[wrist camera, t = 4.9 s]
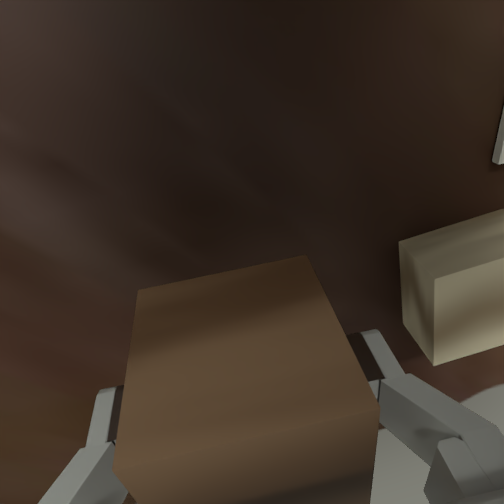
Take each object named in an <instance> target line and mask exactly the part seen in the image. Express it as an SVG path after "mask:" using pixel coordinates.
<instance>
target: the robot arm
mask: <svg viewBox="0 0 504 504" xmlns="http://www.w3.org/2000/svg"><path fill="white" fill-rule="evenodd" d="M346 337H347V339H348V342H349V344H350V346H351V348H352V350H353V352H354V354H355V356H356V358H357V360H358V362H359V364H360V366H361V368H362V370H363V372H364V375H365V377H366V379H367V381H368V383H369V385H370V387H371V389H372V391H373V393H374V395H375V397H376V399H377V401H378V403H379V405H380V408H381V410H380V419H379V422H380V423H381V424H382V425H383V426H384V427H385V428H387V429H388V430H389V431H390V432H391V433H393V434H394V435H395V436H396V437H397V438H398V439H399V440H401V441H402V442H403V443H404V444H405V445H406V446H407V447H409V448H410V449H411V450H412V451H413V452H414V453H415V454H417V455H418V456H419V457H420V458H421V459H423V460H424V461H425V462H426V463H427V464H428V465H429V466H430V467H431V468H430V471H429V475H428V478H427V481H426V484H425V487H424V493H425V495H426V497H427V499H428V501H429V503H430V504H504V436H503V434H502V433H501V432H500V430H499V429H498V427H497V426H496V425H494V424H492V423H491V422H489V421H488V420H486V419H484V418H482V417H481V416H479V415H478V414H476V413H474V412H473V411H471V410H470V409H468V408H466V407H464V406H463V405H461V404H460V403H458V402H456V401H455V400H453V399H452V398H450V397H448V396H447V395H445V394H443V393H442V392H440V391H438V390H437V389H435V388H434V387H432V386H430V385H429V384H427V383H425V382H424V381H422V380H420V379H419V378H417V377H416V376H414V375H412V374H411V373H409V374H405V373H404V371H403V370H402V368H401V366H400V365H399V363H398V361H397V360H396V358H395V356H394V355H393V353H392V351H391V350H390V348H389V346H388V345H387V343H386V341H385V340H384V338H383V336H382V335H381V333H380V331H378V330H377V329H373V330H368V331H364V332H360V333H354V334H349V335H346ZM123 390H124V385H121V386H116V387H111V388H106V389H102V390H100V391H99V393H98V394H97V396H96V401H95V405H94V410H93V415H92V419H91V424H90V429H89V433H88V438H87V443H86V447H85V448H81V449H80V450H79V451H78V452H77V453H76V455H75V456H74V457H73V459H72V460H71V461H70V463H69V464H68V465H67V466H66V468H65V469H64V470H63V472H62V473H61V474H60V476H59V477H58V478H57V479H56V481H55V482H54V483H53V485H52V486H51V487H50V489H49V490H48V491H47V492H46V494H45V495H44V496H43V498H42V499H41V500H40V502H39V503H38V504H122V503H123V501H124V499H125V497H126V495H127V493H128V490H127V489H126V488H125V487H124V485H123V484H122V483H121V482H120V480H119V479H118V478H117V476H116V475H115V474H114V473H113V471H112V466H113V459H114V452H115V445H116V438H117V432H118V425H119V418H120V411H121V404H122V397H123Z"/></svg>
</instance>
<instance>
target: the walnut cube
mask: <svg viewBox="0 0 504 504" xmlns="http://www.w3.org/2000/svg"><path fill="white" fill-rule="evenodd" d="M380 410H381V408H380V405H379V403H378V401H377V399H376V397H375V395H374V393H373V391H372V389H371V387H370V385H369V383H368V381H367V379H366V377H365V375H364V372H363V370H362V368H361V366H360V364H359V362H358V360H357V358H356V356H355V354H354V352H353V350H352V348H351V346H350V344H349V342H348V339H347V337H346V335H345V333H344V331H343V329H342V327H341V325H340V323H339V321H338V319H337V317H336V315H335V313H334V311H333V309H332V306H331V304H330V302H329V300H328V298H327V296H326V294H325V292H324V290H323V288H322V286H321V284H320V282H319V280H318V278H317V276H316V273H315V271H314V269H313V267H312V265H311V263H310V261H309V259H308V257H307V255H302V256H297V257H292V258H288V259H283V260H278V261H273V262H269V263H264V264H259V265H254V266H250V267H245V268H240V269H235V270H231V271H226V272H221V273H216V274H212V275H207V276H202V277H197V278H193V279H188V280H183V281H178V282H174V283H169V284H164V285H159V286H155V287H150V288H145V289H140V290H138V294H137V301H136V308H135V315H134V322H133V329H132V335H131V342H130V349H129V356H128V363H127V370H126V377H125V383H124V390H123V397H122V404H121V411H120V418H119V425H118V432H117V438H116V445H115V452H114V459H113V466H112V471H113V473H114V474H115V475H116V476H117V478H118V479H119V480H120V482H121V483H122V484H123V485H124V487H125V488H126V489H127V490H128V492H129V493H130V494H131V496H132V497H133V498H134V499H135V501H136V502H137V503H138V504H370V497H371V489H372V479H373V471H374V461H375V454H376V445H377V436H378V427H379V419H380Z"/></svg>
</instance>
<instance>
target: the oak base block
mask: <svg viewBox="0 0 504 504" xmlns="http://www.w3.org/2000/svg"><path fill="white" fill-rule="evenodd" d="M399 259H400V278H401V296H402V315H403V324H404V326H405V327H406V328H407V330H408V331H409V333H410V334H411V335H412V337H413V338H414V340H415V341H416V342H417V344H418V345H419V347H420V348H421V349H422V351H423V352H424V354H425V355H426V356H427V358H428V359H429V361H430V362H431V363H432V365H433V366H436V365H439V364H442V363H445V362H449V361H452V360H455V359H458V358H462V357H465V356H468V355H471V354H475V353H478V352H481V351H484V350H488V349H491V348H494V347H497V346H501V345H504V208H503V209H500V210H497V211H494V212H491V213H488V214H484V215H481V216H478V217H475V218H472V219H469V220H465V221H462V222H459V223H456V224H453V225H450V226H446V227H443V228H440V229H437V230H434V231H431V232H427V233H424V234H421V235H418V236H415V237H411V238H408V239H405V240H402V241H399Z"/></svg>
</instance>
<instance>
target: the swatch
mask: <svg viewBox="0 0 504 504" xmlns="http://www.w3.org/2000/svg"><path fill="white" fill-rule="evenodd" d="M492 162H494V163H496V164H498V165H499V164H504V107H503V112H502V117H501V121H500V126H499V130H498V135H497V140H496V144H495V149H494V153H493V158H492Z"/></svg>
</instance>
